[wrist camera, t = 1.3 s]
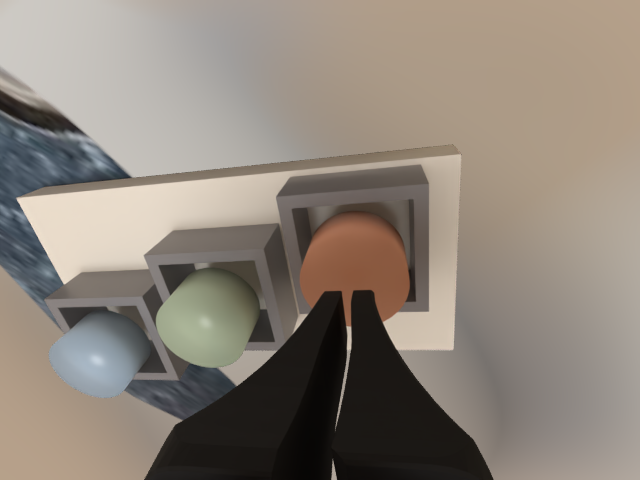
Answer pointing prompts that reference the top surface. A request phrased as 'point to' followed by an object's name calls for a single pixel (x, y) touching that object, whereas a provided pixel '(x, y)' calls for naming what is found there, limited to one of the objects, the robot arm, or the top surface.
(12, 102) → the top surface
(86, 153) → the top surface
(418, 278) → the panel
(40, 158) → the top surface
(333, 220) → the button terracotta
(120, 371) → the button blue
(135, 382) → the top surface
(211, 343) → the button green
